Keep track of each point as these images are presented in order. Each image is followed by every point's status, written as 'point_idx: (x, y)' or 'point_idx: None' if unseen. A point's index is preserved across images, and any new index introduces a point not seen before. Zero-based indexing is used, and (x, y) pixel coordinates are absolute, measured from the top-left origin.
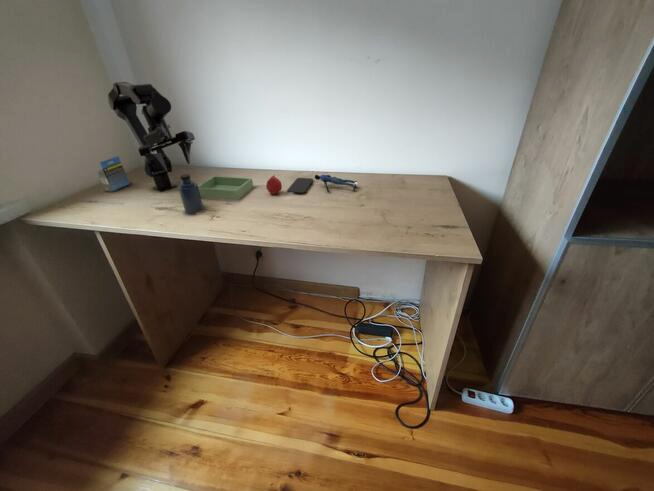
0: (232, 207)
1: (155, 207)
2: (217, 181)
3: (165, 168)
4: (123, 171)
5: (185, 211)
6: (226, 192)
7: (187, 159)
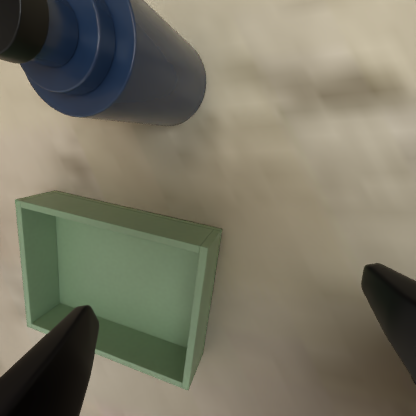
0: (48, 133)
1: (411, 102)
2: (182, 359)
3: (385, 307)
4: None
5: (191, 46)
6: (64, 207)
7: (43, 340)
